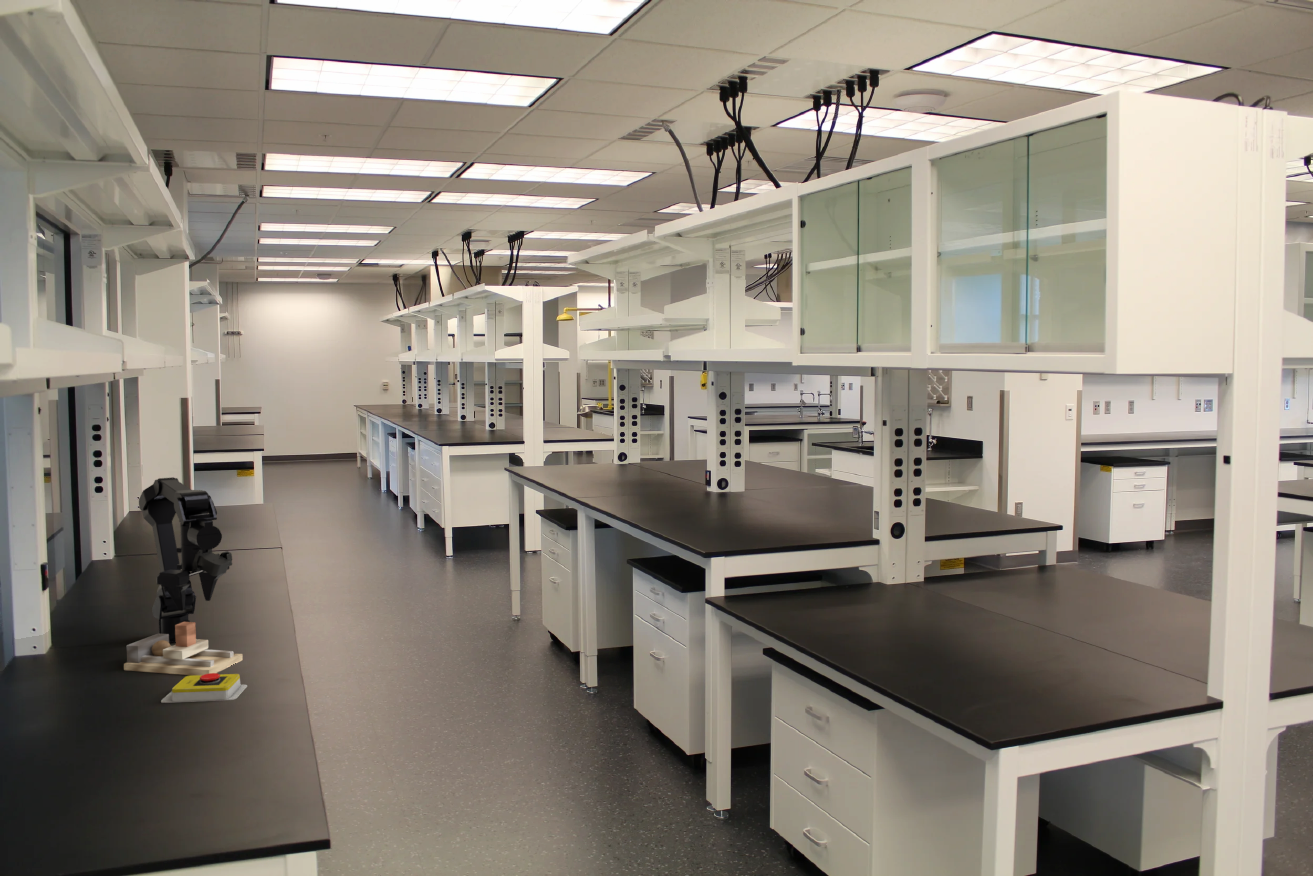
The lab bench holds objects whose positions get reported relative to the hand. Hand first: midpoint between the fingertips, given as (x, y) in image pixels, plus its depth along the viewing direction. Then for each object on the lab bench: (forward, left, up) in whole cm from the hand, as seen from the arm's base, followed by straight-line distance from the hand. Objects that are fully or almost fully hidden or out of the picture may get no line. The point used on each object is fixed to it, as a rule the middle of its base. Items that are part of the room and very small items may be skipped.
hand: (194, 605), depth 223 cm
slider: (+5, -9, -9) cm, 14 cm away
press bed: (+4, -9, -12) cm, 16 cm away
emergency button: (+21, -25, -12) cm, 35 cm away
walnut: (-2, -9, -10) cm, 14 cm away
